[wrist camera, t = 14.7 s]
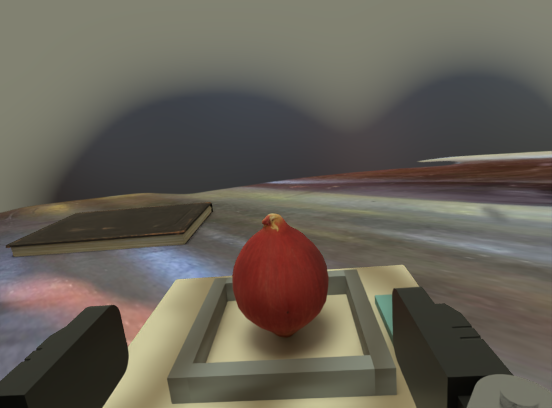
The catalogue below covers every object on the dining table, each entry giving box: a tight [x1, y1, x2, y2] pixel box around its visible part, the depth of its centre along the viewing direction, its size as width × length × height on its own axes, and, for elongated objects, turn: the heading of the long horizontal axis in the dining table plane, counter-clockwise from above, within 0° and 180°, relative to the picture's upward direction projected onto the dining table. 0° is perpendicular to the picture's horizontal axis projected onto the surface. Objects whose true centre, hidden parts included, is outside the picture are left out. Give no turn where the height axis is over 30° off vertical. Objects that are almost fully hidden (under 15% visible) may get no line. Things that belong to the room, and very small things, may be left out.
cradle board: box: [103, 265, 419, 408], centre depth 23 cm, size 20×18×2 cm
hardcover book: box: [6, 202, 213, 257], centre depth 53 cm, size 16×23×2 cm
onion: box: [232, 214, 329, 338], centre depth 22 cm, size 6×6×8 cm
